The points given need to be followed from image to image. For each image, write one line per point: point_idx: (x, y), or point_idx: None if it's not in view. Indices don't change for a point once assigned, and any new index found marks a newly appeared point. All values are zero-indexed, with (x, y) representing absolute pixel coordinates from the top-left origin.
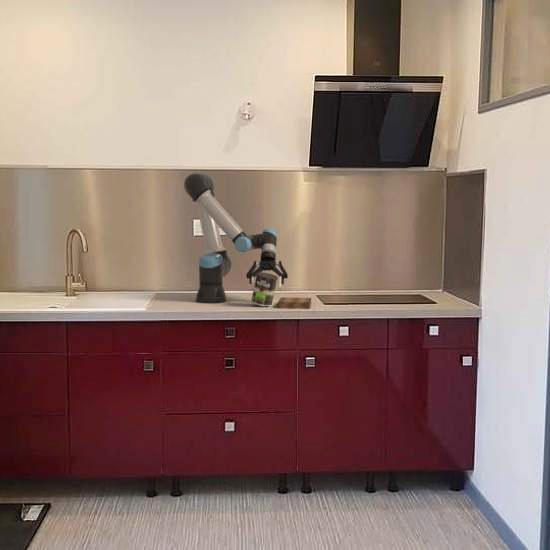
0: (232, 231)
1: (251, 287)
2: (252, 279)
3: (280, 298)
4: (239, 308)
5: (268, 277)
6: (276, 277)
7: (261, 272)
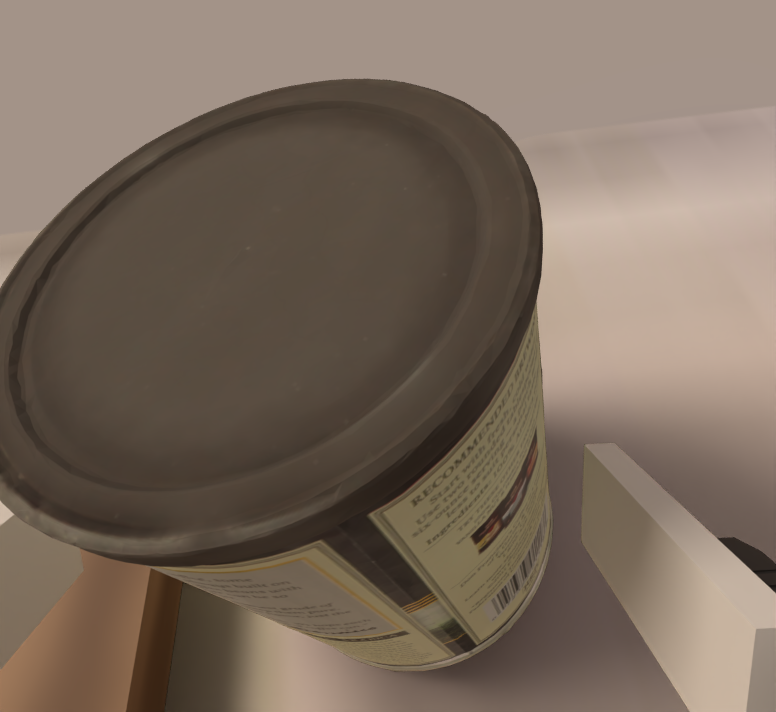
0: None
1: (607, 451)
2: (708, 552)
3: (129, 652)
4: (597, 313)
5: (217, 158)
6: (12, 313)
7: (440, 401)
